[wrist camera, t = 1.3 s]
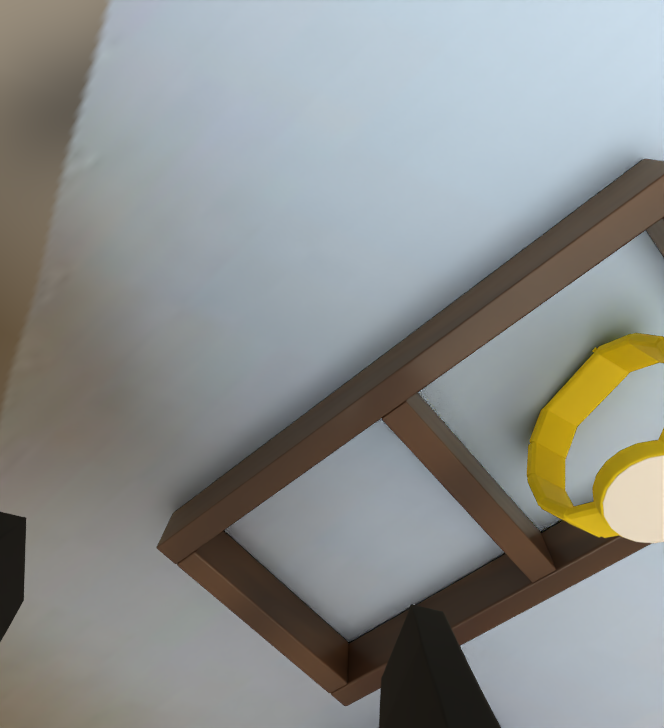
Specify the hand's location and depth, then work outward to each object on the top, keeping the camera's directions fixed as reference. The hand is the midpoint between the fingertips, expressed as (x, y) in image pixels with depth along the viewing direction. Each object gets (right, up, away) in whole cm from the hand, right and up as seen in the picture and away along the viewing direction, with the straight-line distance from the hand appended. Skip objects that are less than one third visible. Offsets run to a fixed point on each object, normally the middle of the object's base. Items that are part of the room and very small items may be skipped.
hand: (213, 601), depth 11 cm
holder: (+7, +1, +10) cm, 12 cm away
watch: (+11, +4, +9) cm, 14 cm away
